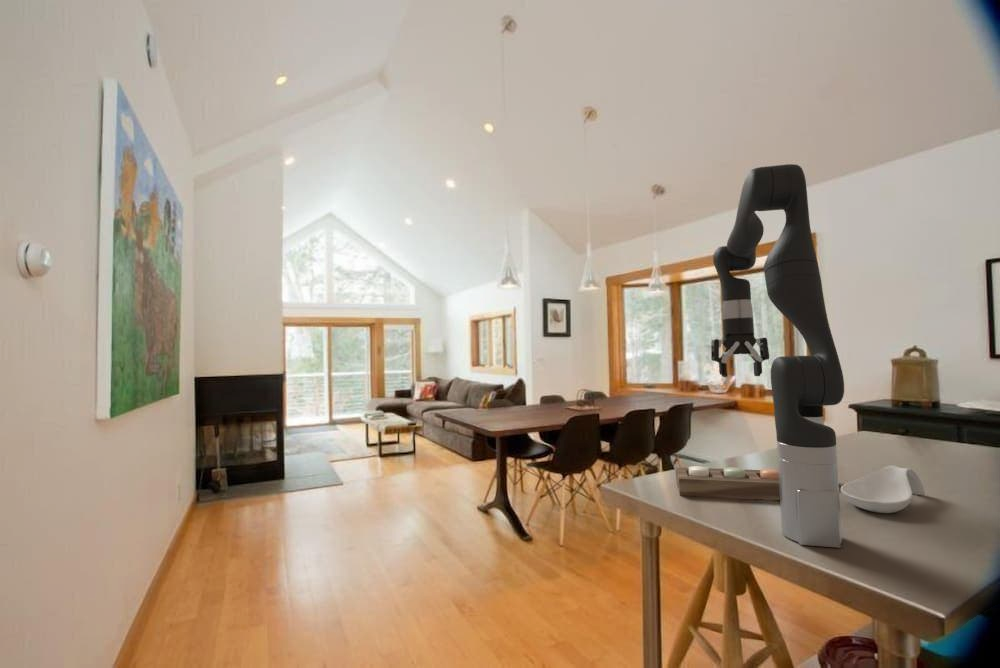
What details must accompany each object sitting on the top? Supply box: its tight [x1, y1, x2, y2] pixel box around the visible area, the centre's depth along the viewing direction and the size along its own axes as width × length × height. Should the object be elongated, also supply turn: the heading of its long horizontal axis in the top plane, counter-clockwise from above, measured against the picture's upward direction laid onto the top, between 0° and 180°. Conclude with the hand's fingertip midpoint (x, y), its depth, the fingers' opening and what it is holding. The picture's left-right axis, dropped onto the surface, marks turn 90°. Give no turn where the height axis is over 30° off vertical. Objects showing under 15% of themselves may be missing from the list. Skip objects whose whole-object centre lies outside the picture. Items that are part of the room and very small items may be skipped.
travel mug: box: [797, 406, 825, 425], centre depth 119 cm, size 6×7×20 cm
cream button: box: [688, 465, 709, 477], centre depth 115 cm, size 5×5×3 cm
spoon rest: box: [840, 465, 925, 514], centre depth 102 cm, size 24×12×7 cm, turn 121°
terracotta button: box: [759, 468, 779, 480], centre depth 110 cm, size 5×5×3 cm
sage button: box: [723, 466, 746, 478], centre depth 113 cm, size 5×5×3 cm
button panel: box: [675, 466, 780, 501], centre depth 113 cm, size 11×26×4 cm, turn 73°
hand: (740, 376), depth 127 cm, fingers open, 8 cm apart
